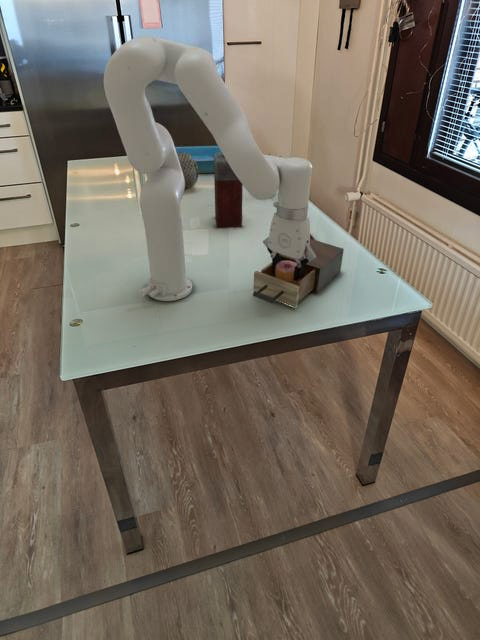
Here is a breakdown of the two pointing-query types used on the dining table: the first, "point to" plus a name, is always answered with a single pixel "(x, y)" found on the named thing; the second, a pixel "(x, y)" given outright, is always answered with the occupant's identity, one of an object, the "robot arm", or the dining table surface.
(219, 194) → the toy vending machine
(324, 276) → the cabinet
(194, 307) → the dining table surface
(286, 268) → the donut
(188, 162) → the decorative egg
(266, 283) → the drawer
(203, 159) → the casserole dish
